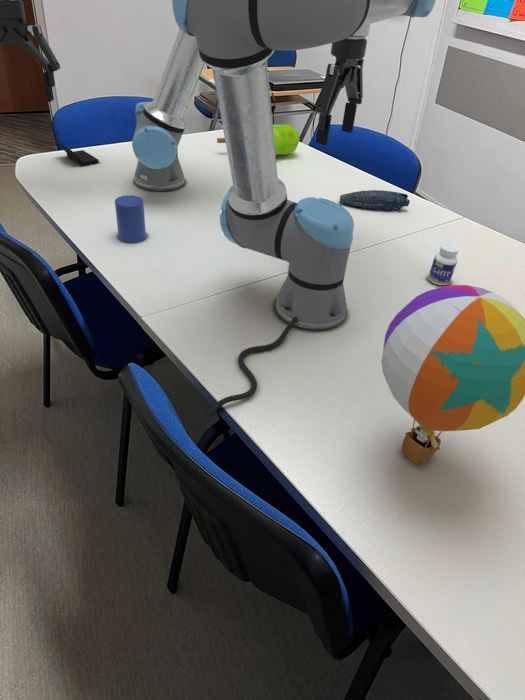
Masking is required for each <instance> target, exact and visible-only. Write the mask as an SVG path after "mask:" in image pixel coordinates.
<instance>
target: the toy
mask: <svg viewBox="0 0 525 700" xmlns="http://www.w3.org/2000/svg"><path fill="white" fill-rule="evenodd" d="M381 369H382V370H381V371H382V373H383V376H384V379H385V381H386V384H387V386H388V388H389V391H390V392H391V395H392V397H393V398H394V400H395V401H396V403H398V404H399V405H400V407H401V408H402V409H403V410H404V411H405V412H406V413H407V414H408V415H409V416H410V417H411V418H412V419H413V421H412V422H413V423H412V428H411V429H410V431H406V432H405V434H404V435H405V436H404V438H403V441H402V445H401V453H402V454H403V455H404V456H406V457H407V458H408V459H410V461H412V462H413V463H415V464H416V465H417V466H419V467H420V466H422V465H424V464H425V463H426V462H427V461H428V460H430V459H431V458H432V457H434V456H435V454H436V453H437V451H440V449H441V447H440V446H441V443H442V440H441V439H440V438H439V436H441V434H442V432H461V431H462V432H463V431H473V430H480V429H483V428H484V427H486V426H488V425H491V424H493V423H496V422H498V421H499V420H501V419H503V418H507V416H509V415H510V414H511V413H513V412H514V411H515V410H516V409H518V407H519V405H520V404H521V403H522V401H523V400H524V398H525V317H524V316H523V315H522V314H521V313H520V311H518V309H517V308H516V307H515V305H513V304H512V302H510V301H509V300H507V299H506V298H504V297H503V296H501V295H499V294H497V293H496V292H493V291H490V290H488V289H485V288H482V287H479V286H473V285H467V284H447V285H443V286H440V287H436V288H433V289H430V290H426V291H424V292H423V293H420V294H419V295H417V296H415V297H414V298H413V299H412V300H410V301H409V302H408V303H407V304H406V305H405V306H404V307H403V308H402V309H400V310H399V311H398V312H397V313H396V314H395V316H394V317H393V318H392V320H391V322H390V323H389V324H388V327H387V329H386V332H385V335H384V342H383V350H382V355H381ZM415 423H417V424H418V425H417V426H416V427H415ZM435 431H436V432H439V433H438V434H437V435H436V433H435Z"/></svg>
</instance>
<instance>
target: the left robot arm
mask: <svg viewBox="0 0 525 700" xmlns="http://www.w3.org/2000/svg"><path fill="white" fill-rule="evenodd" d="M178 28H179V27H178ZM29 33H30V34H31V35H32V36H33V38H34V39H35V41H36V43H37V45H38V47H39V49H40V50H41V51H40V50H39V49H38V48H37V47H36V45H34V43H33V41H32V40H31V39H30V37H29V36H28V35H29ZM3 44H4V45H7V46H10V45H12V46H17V47H18V46H20V45H21V46H22V48H23V49H25V50H27V52H28V53H29V54H30V55H31V57H33V59H34V60H35V61H36V62H37V63H38V65H39V66H40V67H41V68H42V69H43V70H44V71H43V73H42V78H43V83H44V90H45V95H46V101H47V103H51V102H52V101H54V99H55V98H54V91H53V88H54V87H55V86H56V80H55V73H54V72H57V71H58V70H60V69H61V64H60V63H59V60H58V59H57V57H56V55H55V53H54V52H53V50H52V48H51V47H50V45H49V43H48V42H47V39H46V37H45V35H44V34H43V30H42V27H41V25H40V24H34V25H28V23H27V21H26V13H25V7H24V1H22V0H0V47H2V45H3ZM41 52H42V53H41ZM204 67H205V64H204V63H203V62H202V60H201V58H200V55H199V49H198V44H197V40H196V37H195V36H189V35H188V34H186V33H184V32H183V30H181V29H180V28H179V29H178V31H177V34H176V37H175V39H174V43H173V45H172V47H171V51H170V53H169V56H168V57H167V62H166V64H165V67H164V70H163V72H162V74H161V77H160V80H159V83H158V86H157V88H156V91H155V95H154V96H153V98H152V99H153V100H152V101H141V102H138V103H136V105H135V111H134V114H135V120H136V122H135V123H136V125H135V130H134V134H133V135H132V139H131V146H132V151H133V154H134V156H135V157H136V159H137V164H136V166H135V167H136V168H135V171H134V183H135V185H136V186H137V187H139V188H142V189H145V190H149V191H155V192H165V191H173V190H177V189H179V188H181V187H183V186H184V185H185V174H184V171H183V168H182V165H181V162H180V159H179V149H178V148H179V145H180V143H181V139H182V136H183V134H184V132H185V129H186V127H187V125H186V121H185V118H184V116H185V113H186V111H187V109H188V106H189V104H190V101H191V99H192V96H193V94H194V91H195V89H196V86H197V84H198V81H199V79H200V77H201V74H202V72H203V69H204Z"/></svg>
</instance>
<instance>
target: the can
mask: <svg viewBox="0 0 525 700" xmlns="http://www.w3.org/2000/svg"><path fill="white" fill-rule="evenodd" d="M144 205H145V203H144V199H143V198H142V197H140V196H138V195H132V194H131V195H128V194H127V195H121V196H118V197H116V198H115V199H114V206H115V215H116V226H117V234H118V235H117V236H118V239H119V240H120V241H122V242H124V243H129V244H135V243H140V242H142V241H144V240H146V238H147V231H146V219H145V206H144Z"/></svg>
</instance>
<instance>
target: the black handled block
mask: <svg viewBox="0 0 525 700" xmlns="http://www.w3.org/2000/svg"><path fill="white" fill-rule="evenodd" d="M54 141H55V143H56V145H58V146H59V147H60V148H61V149H62V150H63V151H64V152H65V153H66V156H67V157H68V158H70V159H71V160H74V162H76V163H78V164H79V165H81V166H87V165H92V164H97V163H99V161H100V160H99V159H98V158H96V156H93V155H92V154H90V153H88V151H85V150H84V149H81V150H75V151H73V150H72V149H70V148H69V147H67V146H66V145H64V144H62V143H61V142H59V141H58V140H54Z"/></svg>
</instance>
